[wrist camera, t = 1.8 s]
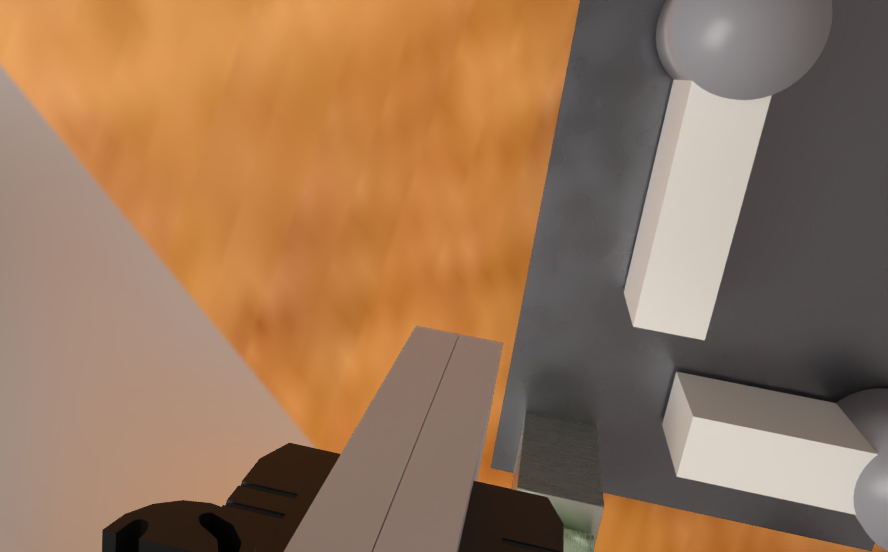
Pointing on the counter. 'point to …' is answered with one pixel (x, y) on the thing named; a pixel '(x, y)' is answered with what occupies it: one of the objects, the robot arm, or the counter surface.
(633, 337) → the level base
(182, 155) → the counter surface
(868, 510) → the lever back
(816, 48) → the lever front
